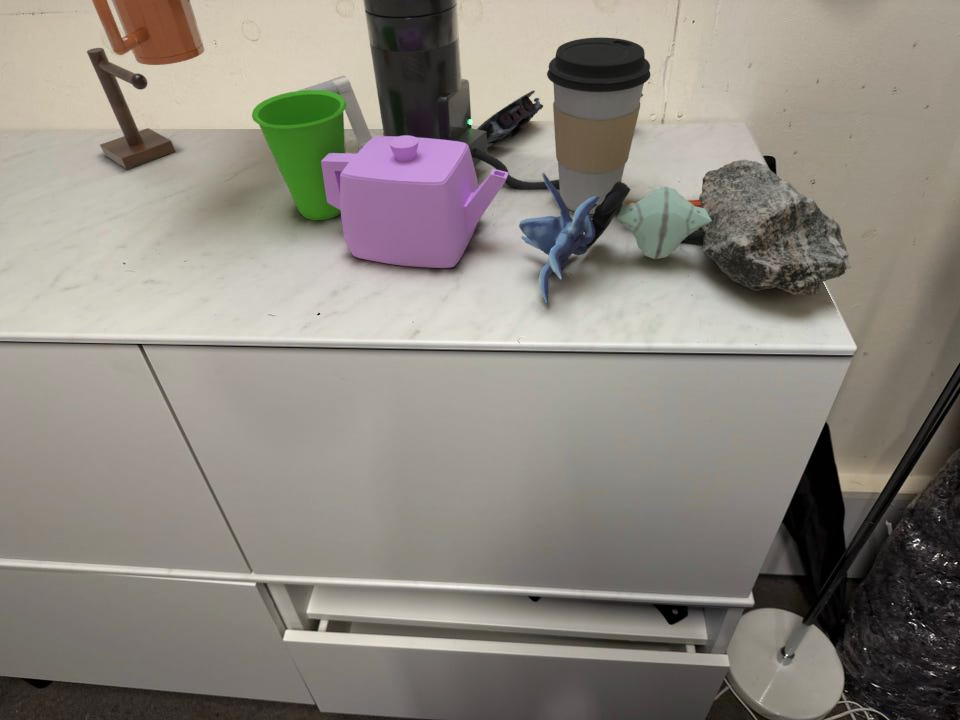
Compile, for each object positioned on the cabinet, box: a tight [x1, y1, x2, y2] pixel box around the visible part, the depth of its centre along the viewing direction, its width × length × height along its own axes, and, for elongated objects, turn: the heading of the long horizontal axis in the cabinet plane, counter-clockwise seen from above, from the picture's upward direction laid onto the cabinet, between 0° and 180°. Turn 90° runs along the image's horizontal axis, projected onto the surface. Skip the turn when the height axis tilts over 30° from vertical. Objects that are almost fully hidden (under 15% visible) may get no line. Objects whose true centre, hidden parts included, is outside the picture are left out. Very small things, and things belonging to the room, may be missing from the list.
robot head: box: [616, 186, 712, 260], centre depth 55 cm, size 8×4×7 cm, turn 82°
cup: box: [251, 90, 346, 221], centre depth 64 cm, size 9×9×11 cm
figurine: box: [518, 172, 631, 305], centre depth 54 cm, size 10×12×8 cm
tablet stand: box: [298, 75, 373, 154], centre depth 73 cm, size 9×8×8 cm
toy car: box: [476, 89, 544, 148], centre depth 78 cm, size 8×12×3 cm
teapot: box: [321, 135, 510, 269], centre depth 58 cm, size 18×10×10 cm, turn 75°
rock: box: [698, 159, 852, 296], centre depth 55 cm, size 18×10×10 cm
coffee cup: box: [546, 36, 651, 215], centre depth 61 cm, size 9×9×15 cm
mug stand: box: [86, 47, 176, 170], centre depth 74 cm, size 14×6×12 cm, turn 47°
